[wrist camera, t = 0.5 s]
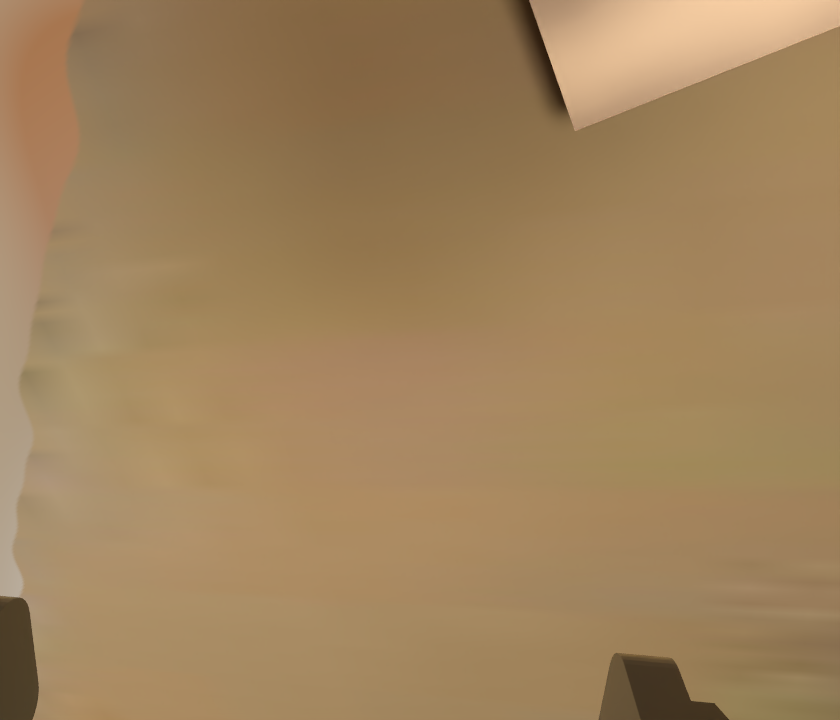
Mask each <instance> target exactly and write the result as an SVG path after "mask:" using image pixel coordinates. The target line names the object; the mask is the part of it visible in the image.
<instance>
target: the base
mask: <svg viewBox="0 0 840 720" xmlns="http://www.w3.org/2000/svg"><path fill="white" fill-rule="evenodd" d="M529 1H530V4H531V7H532V10H533V12H534V15H535V18H536V21H537V24H538V27H539V30H540V33H541V35H542V38H543V41H544V44H545V47H546V50H547V53H548V55H549V58H550V61H551V64H552V67H553V70H554V73H555V76H556V78H557V81H558V84H559V87H560V90H561V93H562V96H563V98H564V101H565V104H566V107H567V110H568V113H569V116H570V119H571V121H572V124H573V127H574V130H575V131H577V130H579V129H582V128H584V127H587V126H589V125H592V124H594V123H597V122H599V121H602V120H604V119H607V118H610V117H612V116H615V115H617V114H620V113H622V112H625V111H627V110H630V109H632V108H635V107H637V106H640V105H642V104H645V103H647V102H650V101H652V100H655V99H657V98H660V97H662V96H665V95H667V94H670V93H672V92H675V91H677V90H680V89H682V88H685V87H687V86H690V85H692V84H695V83H697V82H700V81H702V80H705V79H708V78H710V77H713V76H715V75H718V74H720V73H723V72H725V71H728V70H730V69H733V68H735V67H738V66H740V65H743V64H745V63H748V62H750V61H753V60H755V59H758V58H760V57H763V56H765V55H768V54H770V53H773V52H775V51H778V50H780V49H783V48H785V47H788V46H790V45H793V44H795V43H798V42H801V41H803V40H806V39H808V38H811V37H813V36H816V35H818V34H821V33H823V32H826V31H828V30H831V29H833V28H836V27H838V26H840V0H529Z"/></svg>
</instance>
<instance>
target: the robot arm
mask: <svg viewBox="0 0 840 720" xmlns="http://www.w3.org/2000/svg"><path fill="white" fill-rule="evenodd" d="M38 690H39V686H38V676H37V668H36V660H35V652H34V644H33V636H32V628H31V620H30V612H29V607H28V605H27V603H26V601H25V600H24V599H22V598H17V597H6V596H0V720H32V719H33V716H34V713H35V709H36V705H37V700H38ZM599 720H729V719H728V718H727V717H726V716H725V715H724V714H723V713H722V711H721V710H720V709H719V708H718V707H717V706H716V705H715V704H714V703H705V702H694V701H691V700H690V698H689V695H688V692H687V690H686V687H685V685H684V682H683V680H682V677H681V674H680V672H679V669H678V667H677V665H676V663H675V662H674V660H673V659H671V658H666V657H655V656H644V655H633V654H622V653H616V654H614V656H613V657H612V660H611V663H610V667H609V672H608V677H607V682H606V687H605V692H604V696H603V701H602V706H601V711H600V716H599Z"/></svg>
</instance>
